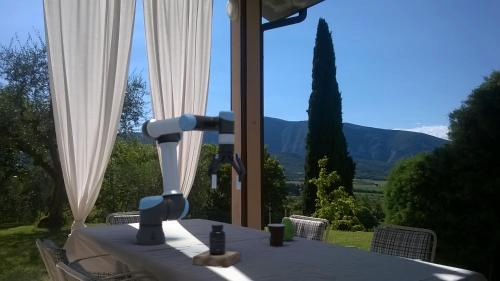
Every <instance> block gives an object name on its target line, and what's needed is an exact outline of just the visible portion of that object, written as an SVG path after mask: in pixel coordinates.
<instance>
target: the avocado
mask: <svg viewBox="0 0 500 281" xmlns="http://www.w3.org/2000/svg"><path fill="white" fill-rule="evenodd" d="M281 224H283V225H285V230H284V239H283V241H287V242H289V241H291V240H293V239H294V237H295V233H296V230H295V226H294V224H293V222H292V219H291V218H289V217H284V218H283V219H282V221H281Z"/></svg>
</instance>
